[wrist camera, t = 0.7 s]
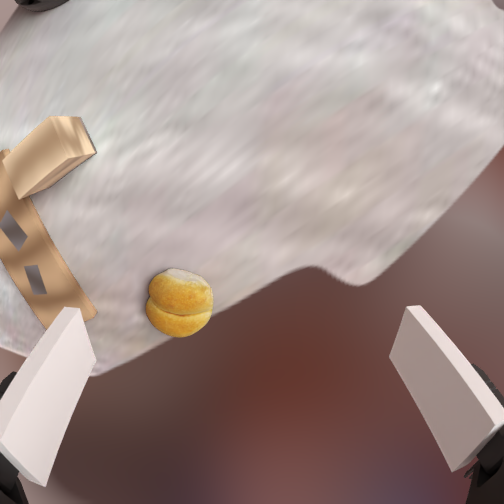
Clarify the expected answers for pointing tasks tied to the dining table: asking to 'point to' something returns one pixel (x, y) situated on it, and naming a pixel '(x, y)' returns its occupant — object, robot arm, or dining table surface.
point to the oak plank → (35, 258)
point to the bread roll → (179, 302)
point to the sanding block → (48, 154)
